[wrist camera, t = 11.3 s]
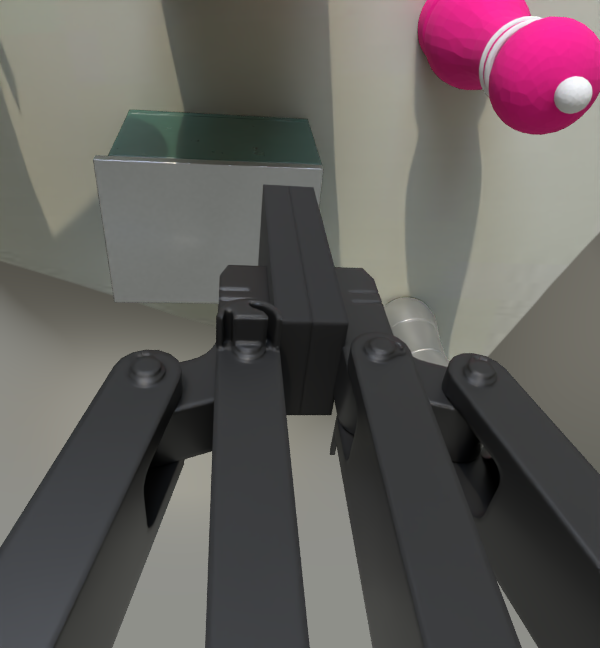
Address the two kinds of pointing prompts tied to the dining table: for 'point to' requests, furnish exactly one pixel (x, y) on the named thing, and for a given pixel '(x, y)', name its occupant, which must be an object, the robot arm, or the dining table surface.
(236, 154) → the tin
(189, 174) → the lid
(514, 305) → the dining table surface
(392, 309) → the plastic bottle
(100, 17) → the dining table surface
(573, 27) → the pepper mill
